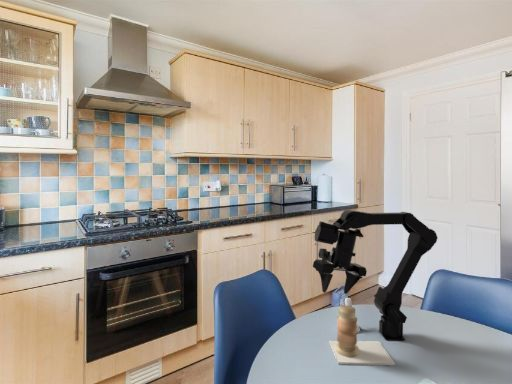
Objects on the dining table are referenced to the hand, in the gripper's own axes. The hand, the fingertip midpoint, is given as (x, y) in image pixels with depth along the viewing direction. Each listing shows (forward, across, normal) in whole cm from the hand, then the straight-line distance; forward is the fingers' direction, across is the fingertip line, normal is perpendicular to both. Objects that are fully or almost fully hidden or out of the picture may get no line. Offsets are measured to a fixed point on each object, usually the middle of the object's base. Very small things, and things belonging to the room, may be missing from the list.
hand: (334, 292), depth 104 cm
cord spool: (+14, 0, +10) cm, 17 cm away
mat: (+14, -3, +12) cm, 19 cm away
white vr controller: (+14, -11, -2) cm, 18 cm away
